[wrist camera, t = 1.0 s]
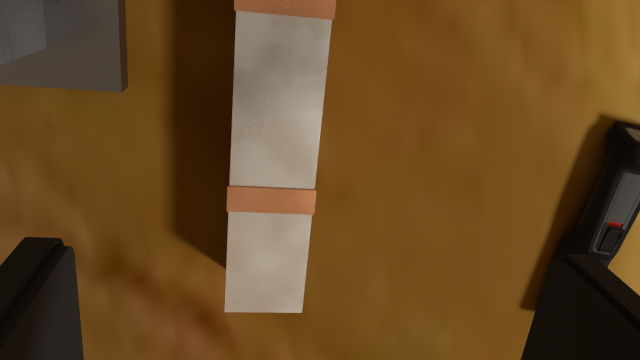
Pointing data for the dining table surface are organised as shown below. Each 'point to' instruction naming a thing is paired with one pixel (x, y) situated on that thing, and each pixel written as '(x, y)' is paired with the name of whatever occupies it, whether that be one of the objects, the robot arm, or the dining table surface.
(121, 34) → the grey stand
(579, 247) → the electric trimmer
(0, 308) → the robot arm
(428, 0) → the dining table surface
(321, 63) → the white and orange bar
